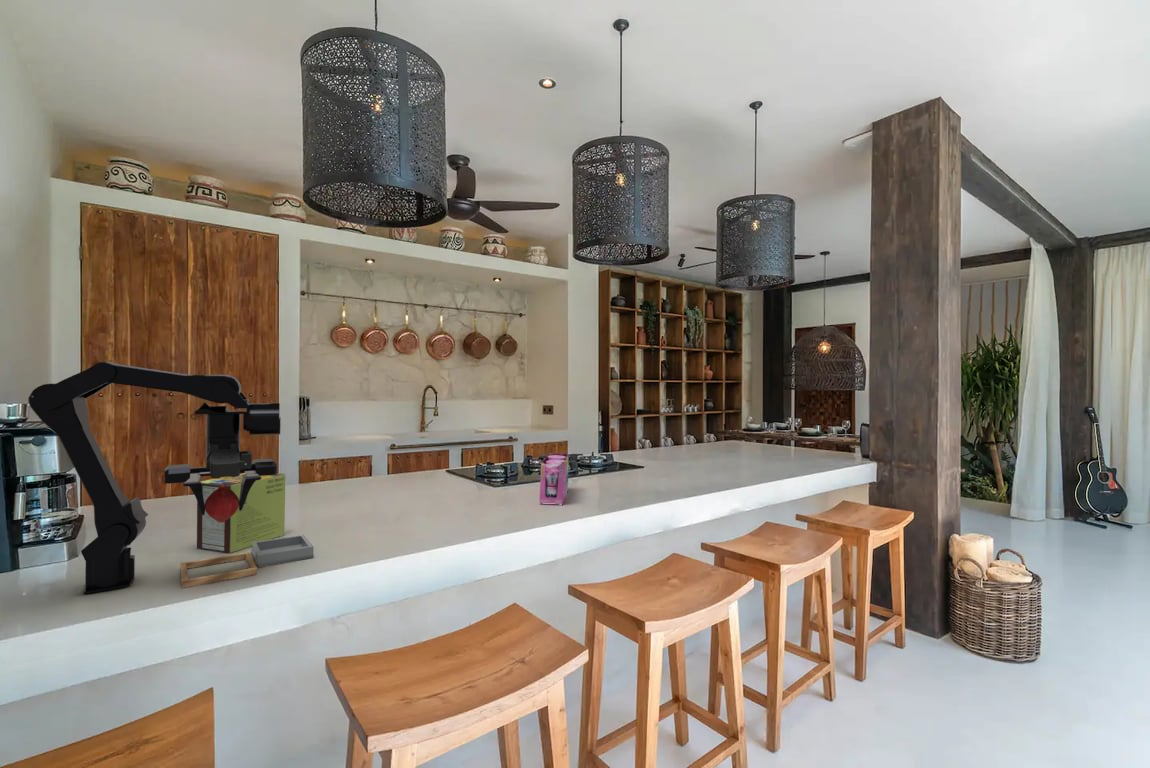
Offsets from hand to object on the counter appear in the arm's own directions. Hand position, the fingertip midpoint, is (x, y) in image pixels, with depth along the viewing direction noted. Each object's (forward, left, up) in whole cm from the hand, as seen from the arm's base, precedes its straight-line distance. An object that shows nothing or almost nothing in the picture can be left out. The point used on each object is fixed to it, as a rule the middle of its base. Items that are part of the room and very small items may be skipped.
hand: (222, 512), depth 107 cm
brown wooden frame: (0, 0, -12) cm, 12 cm away
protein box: (+6, +20, -12) cm, 24 cm away
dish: (+12, +3, -12) cm, 17 cm away
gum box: (+96, +17, -12) cm, 98 cm away
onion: (0, 0, -2) cm, 2 cm away
